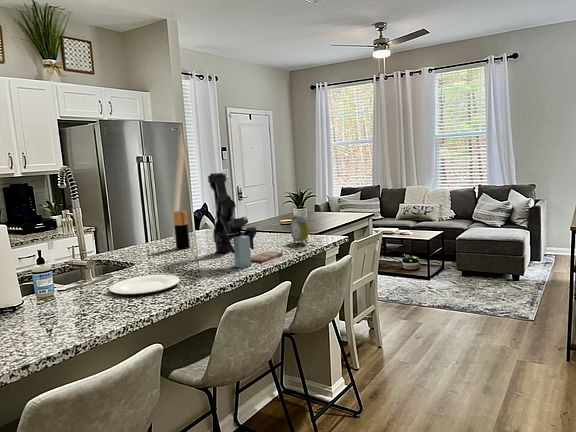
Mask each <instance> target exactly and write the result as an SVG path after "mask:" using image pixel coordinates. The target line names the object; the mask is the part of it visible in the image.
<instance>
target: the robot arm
mask: <svg viewBox="0 0 576 432" xmlns="http://www.w3.org/2000/svg"><path fill="white" fill-rule="evenodd" d="M207 181H208V184H209V188H210V189H211V190H212V191H213V196H214V198H213V199H214V205H215V207H214V208H215V215H216V222H215V224H214V229H213V230H212V232H213V233H212V239H213V242H214V244H215V250H216V251H214V254H228V253H232V254H233V255H234V253H235V251H234V246H233V245H232V243H231V241H232V240H233V237H238V236H248V237H249V239H250V250H252V251H254V249H255V247H254V238H255V236H256V235H257V233H258V230H257V228H256V226H251V227H246V229H245V231H243V229H244V228H243V227H244V226H246V225H247V224H248V223H249V220H248V217H247V216H241V217H238V218H235V217H234V215H235V209H236V208H237V207H236V206H237V204H236V202H235V201H234V200H233V199H232V197H231V196H230V195H228V192H227V187H226V182H227V174H224V173H223V172H215V173H212V172H211V173H210V175H208V176H207Z"/></svg>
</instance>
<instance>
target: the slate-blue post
mask: <svg viewBox="0 0 576 432" xmlns="http://www.w3.org/2000/svg"><path fill="white" fill-rule="evenodd" d="M232 240H233V242H232V243H233V248H234V251H235V253H234V254H233V255H234V266H235V267H237V268H240V269H243V268H248V267H251V266H252V262H251V257H252V255H251V248H250V239H249V237H248V236H238V237H233V238H232Z"/></svg>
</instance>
